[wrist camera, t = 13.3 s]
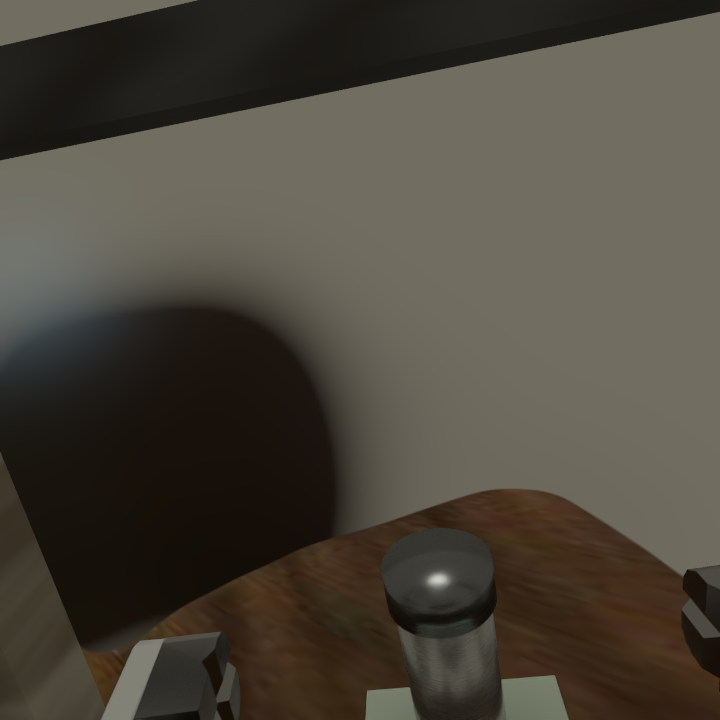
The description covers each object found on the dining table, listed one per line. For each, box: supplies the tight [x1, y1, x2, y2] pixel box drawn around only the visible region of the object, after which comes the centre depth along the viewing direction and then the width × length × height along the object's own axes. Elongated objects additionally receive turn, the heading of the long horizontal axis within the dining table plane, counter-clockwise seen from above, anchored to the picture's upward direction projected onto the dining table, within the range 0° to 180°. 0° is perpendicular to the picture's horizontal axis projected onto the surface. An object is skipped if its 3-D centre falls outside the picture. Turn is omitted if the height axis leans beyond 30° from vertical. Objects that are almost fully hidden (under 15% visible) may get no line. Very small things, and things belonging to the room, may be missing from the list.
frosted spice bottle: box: [381, 528, 507, 720], centre depth 28 cm, size 5×5×14 cm
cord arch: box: [0, 0, 720, 720], centre depth 18 cm, size 36×3×36 cm, turn 87°
